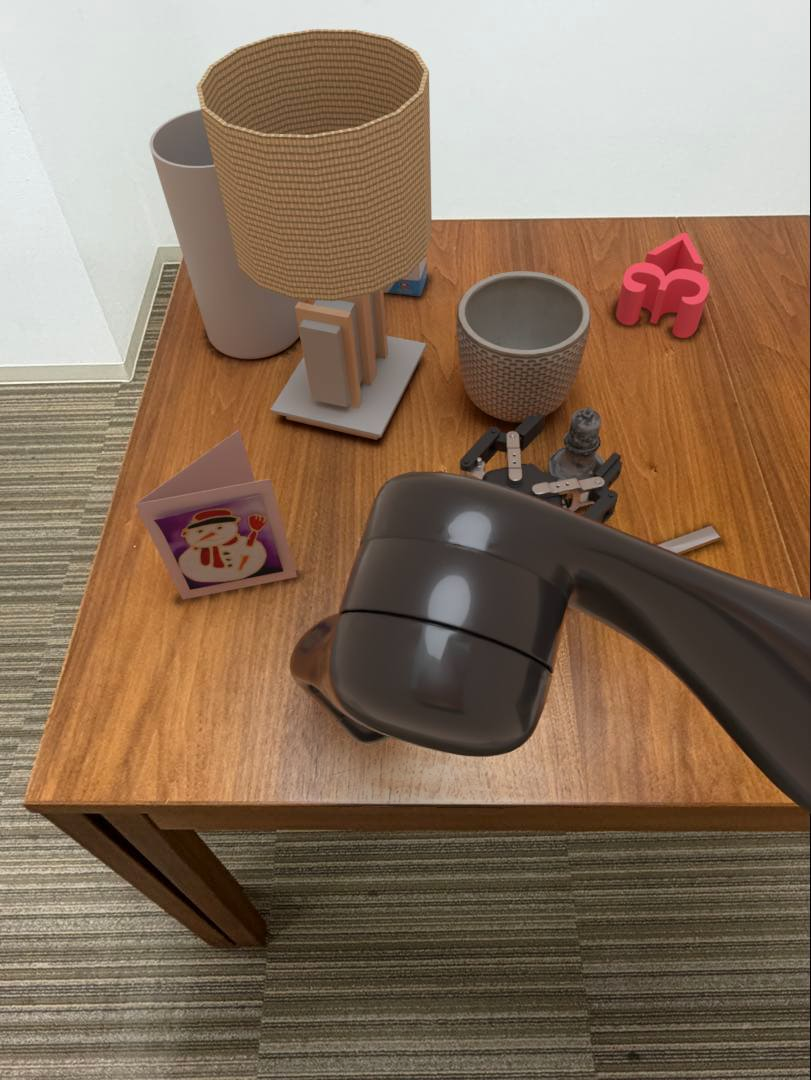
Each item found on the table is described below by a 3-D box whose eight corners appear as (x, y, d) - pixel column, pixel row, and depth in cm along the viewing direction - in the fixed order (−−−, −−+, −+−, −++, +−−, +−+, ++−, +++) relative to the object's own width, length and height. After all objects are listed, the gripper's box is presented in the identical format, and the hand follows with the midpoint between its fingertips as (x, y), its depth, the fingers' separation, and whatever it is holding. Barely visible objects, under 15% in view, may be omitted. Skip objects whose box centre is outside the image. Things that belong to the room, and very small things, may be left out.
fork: (705, 523, 81) (706, 519, 81) (723, 547, 80) (725, 542, 79) (537, 583, 78) (537, 580, 77) (552, 609, 76) (553, 606, 76)
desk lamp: (310, 324, 103) (258, 19, 74) (455, 353, 98) (458, 40, 70) (242, 429, 92) (152, 120, 64) (402, 467, 88) (381, 152, 59)
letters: (639, 258, 108) (647, 225, 104) (716, 275, 105) (727, 241, 101) (611, 321, 101) (618, 288, 97) (692, 340, 98) (702, 307, 94)
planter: (596, 387, 94) (614, 295, 83) (540, 463, 87) (552, 373, 77) (493, 347, 99) (498, 255, 88) (432, 416, 92) (430, 325, 82)
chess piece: (538, 472, 86) (549, 390, 77) (590, 464, 87) (608, 381, 77) (554, 514, 83) (568, 434, 73) (608, 505, 83) (629, 423, 74)
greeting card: (182, 606, 78) (134, 512, 66) (179, 547, 83) (133, 448, 70) (298, 583, 79) (271, 486, 67) (288, 526, 84) (262, 424, 72)
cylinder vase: (319, 306, 105) (288, 112, 85) (284, 369, 98) (241, 174, 78) (232, 293, 108) (182, 101, 87) (192, 353, 101) (127, 160, 80)
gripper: (550, 562, 65) (651, 445, 72) (414, 480, 70) (520, 380, 77) (541, 610, 71) (635, 498, 78) (417, 531, 76) (515, 433, 84)
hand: (578, 439), depth 78 cm, fingers open, 8 cm apart
